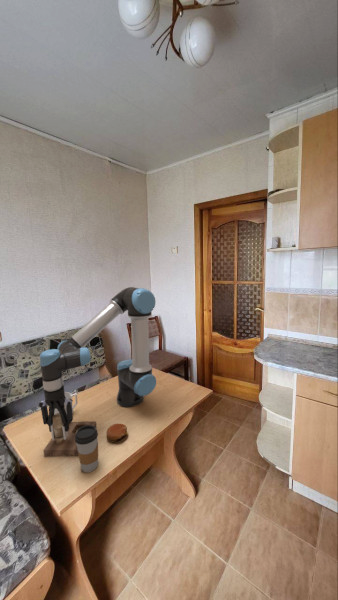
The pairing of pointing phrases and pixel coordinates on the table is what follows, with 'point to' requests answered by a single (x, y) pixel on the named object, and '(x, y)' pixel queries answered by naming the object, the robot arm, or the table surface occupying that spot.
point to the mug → (68, 397)
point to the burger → (117, 433)
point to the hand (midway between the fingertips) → (60, 437)
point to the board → (66, 442)
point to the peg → (58, 428)
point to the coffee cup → (87, 447)
